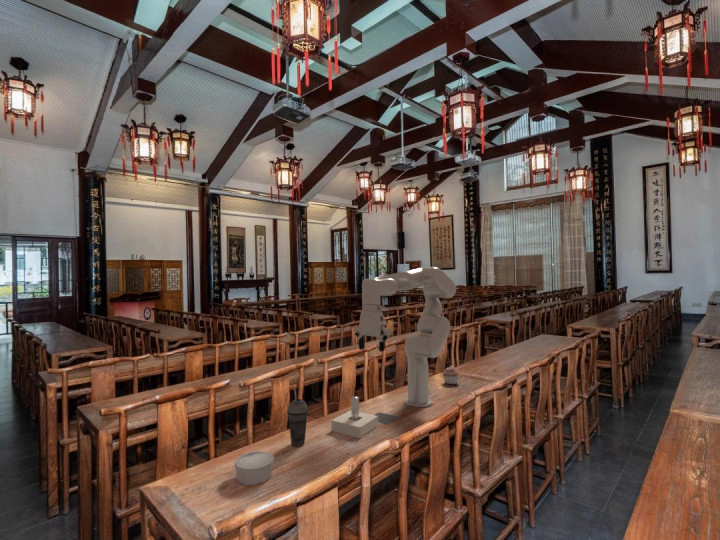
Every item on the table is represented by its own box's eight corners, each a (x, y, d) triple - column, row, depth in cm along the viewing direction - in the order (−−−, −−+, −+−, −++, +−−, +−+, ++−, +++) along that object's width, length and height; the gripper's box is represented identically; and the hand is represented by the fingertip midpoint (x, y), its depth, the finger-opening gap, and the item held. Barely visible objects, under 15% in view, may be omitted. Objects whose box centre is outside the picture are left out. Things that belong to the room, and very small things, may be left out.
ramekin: (259, 464, 118) (259, 447, 118) (282, 475, 111) (282, 457, 111) (226, 479, 109) (226, 460, 109) (249, 492, 102) (249, 473, 102)
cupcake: (441, 381, 211) (441, 363, 211) (459, 381, 209) (458, 363, 210) (442, 385, 202) (442, 366, 202) (460, 386, 200) (460, 367, 200)
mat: (378, 413, 161) (378, 412, 161) (399, 417, 156) (399, 416, 156) (366, 420, 153) (366, 419, 153) (388, 425, 147) (388, 424, 147)
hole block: (350, 419, 154) (350, 410, 154) (378, 426, 147) (378, 416, 147) (331, 430, 143) (331, 420, 143) (360, 438, 136) (360, 427, 136)
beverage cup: (304, 449, 127) (303, 390, 128) (284, 448, 129) (283, 389, 129) (311, 440, 134) (310, 384, 135) (292, 439, 136) (291, 383, 136)
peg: (354, 426, 147) (353, 395, 147) (360, 428, 145) (360, 396, 146) (349, 429, 144) (349, 397, 145) (356, 430, 143) (356, 399, 143)
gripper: (394, 308, 154) (394, 350, 154) (358, 307, 164) (359, 346, 163) (385, 309, 148) (385, 353, 147) (349, 308, 157) (349, 349, 157)
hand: (371, 349), depth 155 cm, fingers open, 9 cm apart
